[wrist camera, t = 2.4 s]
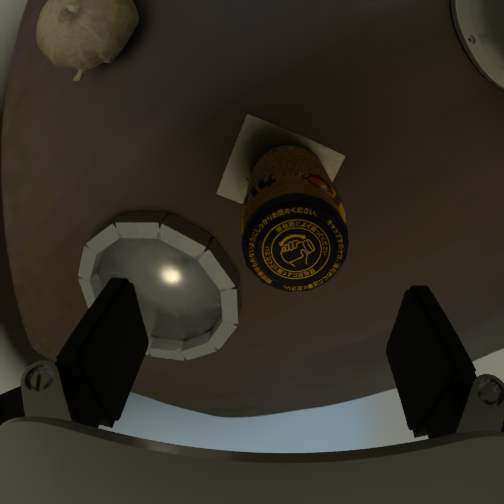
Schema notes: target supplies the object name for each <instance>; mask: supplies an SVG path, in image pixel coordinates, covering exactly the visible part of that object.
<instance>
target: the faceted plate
mask: <svg viewBox="0 0 504 504" xmlns="http://www.w3.org/2000/svg"><path fill="white" fill-rule="evenodd" d="M211 235H212V234H210V233H208V232H206V231H204V230H202V229H201V228H199V227H197V226H195V225H193V224H191V223H189V222H187V221H186V220H184V219H182V218H180V217H178V216H176V215H174V214H173V213H170V214H169V216H168V213H167V212H126V213H125V214H124V213H123V214H122V215H120V216H119V217H117V218H116V219H115V220H113V221H112V222H111V223H109V224H108V225H107V226H105V227H104V228H103V229H101V230H100V231H99V232H97V233H96V234H95V235H94V236H93V237H92V238H91V239H90V240H89V241H88V242H87V243H86V245H85V246H84V250H83V254H82V259H81V263H80V268H79V273H78V276H79V278H78V279H79V282H80V285H81V288H82V291H83V294H84V297H85V300H86V302H87V305H88V308H90V306H91V305H92V304H93V302H94V301H95V299H96V298H97V297H98V295H99V294H100V292H101V291H102V290H103V288H104V287H105V285H106V284H107V283H108V281H109V280H110V279H111V278H113V277H117V278H127V279H128V280H129V281H130V283H133V284H134V287H135V291H136V295H137V299H138V303H139V307H140V311H141V314H142V318H143V321H144V325H145V328H146V332H147V335H148V339H149V345H148V349H147V351H146V355H149V353H150V355H151V356H153V357H160V358H168V359H176V360H185V359H186V360H190V359H193V358H196V357H200V356H203V355H206V354H209V353H212V352H215V351H217V349H220V348H221V347H222V345H223V344H224V343H225V342H226V340H227V339H228V338H229V336H230V335H231V334H232V333H233V331H234V330H235V329H236V328H237V326H238V322H239V316H240V310H241V300H240V275H238V270H237V269H236V267H235V266H234V264H233V263H232V262H231V260H230V259H229V257H228V256H227V254H226V253H225V251H224V250H223V249H222V247H221V246H220V244H219V243H218V241H217V240H216V238H215V237H213V238H211V239H210V237H211ZM105 248H106V249H105Z"/></svg>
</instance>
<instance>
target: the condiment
mask: <svg viewBox="0 0 504 504" xmlns="http://www.w3.org/2000/svg"><path fill="white" fill-rule="evenodd" d="M277 142H279V143H277ZM344 158H345V156H344V155H342V154H340V153H338V152H336V151H334V150H332V149H330V148H327V147H325V146H323V145H321V144H319V143H317V142H315V141H312V140H310V139H308V138H306V137H303V136H301V135H299V134H297V133H294V132H291V131H289V130H286V129H284V128H282V127H280V126H277V125H275V124H272V123H270V122H267V121H265V120H262V119H259V118H257V117H254V116H251V115H249V114H247V115H246V118H245V120H244V123H243V126H242V128H241V131H240V133H239V136H238V138H237V141H236V143H235V146H234V149H233V151H232V154H231V156H230V159H229V162H228V164H227V167H226V169H225V172H224V174H223V177H222V180H221V182H220V185H219V188H218V191H217V193H216V194H218V195H220V196H223V197H225V198H228V199H231V200H233V201H236V202H238V203H241V204H243V205H242V211H241V230H242V247H243V248H242V250H243V254H244V258H245V262H246V265H247V267H248V268H249V269H250V270H251V271H252V272H253V273H254V274H255V275H256V276H257V277H258V278H259V279H260V280H261V281H262V282H263V283H265V284H267V285H269V286H272V287H274V288H276V289H280V290H283V291H288V292H293V291H308V290H312V289H314V288H316V287H319V286H320V285H322V284H324V283H326V282H327V281H329V280H330V279H331V278H332V277H333V276H334V275H335V274H336V272H337V271H338V270H339V268H340V267H341V266H342V264H343V263H344V261H345V259H346V256H347V250H348V244H349V241H348V231H347V226H346V216H345V209H344V205H343V201H342V200H341V197H340V196H339V194H338V192H337V190H336V188H335V186H334V185H333V183H332V181H333V179H334V178H335V176H336V174H337V172H338V170H339V168H340V166H341V164H342V162H343V160H344ZM246 177H248V178H249V181H247V179H246Z"/></svg>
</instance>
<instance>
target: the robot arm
mask: <svg viewBox="0 0 504 504" xmlns="http://www.w3.org/2000/svg"><path fill="white" fill-rule="evenodd" d="M451 9H452V16H453V21H454V25H455V28H456V31H457V33H458V36H459V39H460V41H461V43H462V45H463V47H464V49H465V51H466V53H467V54H468V56H469V57H470V59H471V61H472V62H473V63H474V65H475V66H476V67H477V68H478V70H479V71H480V72H481V73H482V74H483V75H484V76H485V77H486V78H487V79H488V80H489V81H490V82H491V83H493V84H494V85H496V86H497V87H499V88H501V89H503V90H504V0H451ZM148 345H149V339H148V335H147V332H146V328H145V325H144V321H143V318H142V314H141V311H140V307H139V303H138V299H137V295H136V291H135V287H134V284H133V283H130V281H129V280H128V279H127V278H117V277H113V278H111V279H110V280H109V281H108V283H107V284H106V285H105V287H104V288H103V290H102V291H101V292H100V294H99V295H98V297H97V298H96V299H95V301H94V302H93V304H92V305H91V306H90V308H89V309H88V311H87V312H86V314H85V315H84V316H83V318H82V319H81V321H80V322H79V324H78V325H77V327H76V328H75V330H74V331H73V333H72V334H71V336H70V337H69V339H68V340H67V342H66V343H65V345H64V346H63V348H62V350H61V351H60V353H59V354H58V356H57V357H56V358H57V361H56V363H55V365H54V364H53V363H51V362H49V361H40V362H36V363H34V364H32V365H31V366H29V367H28V368H27V369H26V370H25V372H24V373H23V375H22V378H21V386H20V387H17V388H15V389H13V390H10V391H8V392H5V393H3V394H1V395H0V504H504V383H503V382H502V381H501V380H500V379H499V378H497V377H496V376H493V375H490V374H483V375H480V376H478V377H476V374H475V371H476V369H475V367H474V365H473V363H472V361H471V359H470V357H469V356H468V354H467V352H466V350H465V348H464V346H463V344H462V343H461V341H460V339H459V337H458V335H457V334H456V332H455V330H454V328H453V327H452V325H451V323H450V322H449V320H448V318H447V316H446V315H445V313H444V311H443V310H442V308H441V307H440V305H439V303H438V302H437V300H436V298H435V297H434V295H433V294H432V292H431V291H430V289H429V287H428V286H411V287H410V289H409V290H406V292H405V294H404V297H403V300H402V303H401V306H400V309H399V312H398V315H397V318H396V321H395V324H394V327H393V330H392V333H391V335H390V338H389V341H388V344H387V347H386V354H387V358H388V361H389V364H390V367H391V370H392V373H393V377H394V380H395V383H396V386H397V390H398V393H399V396H400V399H401V403H402V407H403V410H404V414H405V417H406V421H407V425H408V427H409V429H410V430H413V433H414V437H415V438H416V437H421V436H425V435H428V438H429V439H426V440H421V441H415V442H410V443H404V444H398V445H391V446H384V447H377V448H369V449H360V450H350V451H337V452H320V453H252V452H236V451H223V450H213V449H204V448H196V447H188V446H181V445H174V444H168V443H163V442H157V441H152V440H147V439H142V438H137V437H133V436H128V435H124V434H119V433H115V432H111V431H107V430H103V429H99V428H98V427H99V424H100V425H104V426H107V427H111V428H112V427H113V424H114V422H115V420H116V421H118V420H119V419H120V417H121V414H122V411H123V409H124V406H125V403H126V401H127V398H128V396H129V393H130V391H131V388H132V386H133V383H134V381H135V378H136V376H137V373H138V371H139V368H140V366H141V363H142V361H143V359H144V356H145V354H146V351H147V349H148Z"/></svg>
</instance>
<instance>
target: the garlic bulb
mask: <svg viewBox="0 0 504 504" xmlns="http://www.w3.org/2000/svg"><path fill="white" fill-rule="evenodd" d="M138 22H139V16H138V11H137V9H136V7H135V4H134V2H133V0H48V2H47V3H46V4H45V5H44V7H43V9H42V11H41V13H40V16H39V19H38V23H37V28H36V39H37V44H38V47H39V49H40V50H41V51H42V52H43V53H44V54H45V56H46V57H48V58H49V59H50V60H51V61H52V62H53V63H54V64H55V65H56V66H58V67H59V68H75V69H77V70H78V73H77V75H76V76H75V77H74V79H73V81H79V80H81V79H82V78H83V76H84V73H85V72H86V71H87V70H90V69H93V68H94V67H96V66H99V65H100V64H102V63H109V64H111V63H112V62H113V61H114V59H115V57H117V56H118V55H119V53H120V52H121V51H122V49H123V48H124V46H125V45H126V44H127V42H128V40H129V38H130V37H131V35H132V33H133V31H134V29H135V27H136V26H137V24H138Z"/></svg>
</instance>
